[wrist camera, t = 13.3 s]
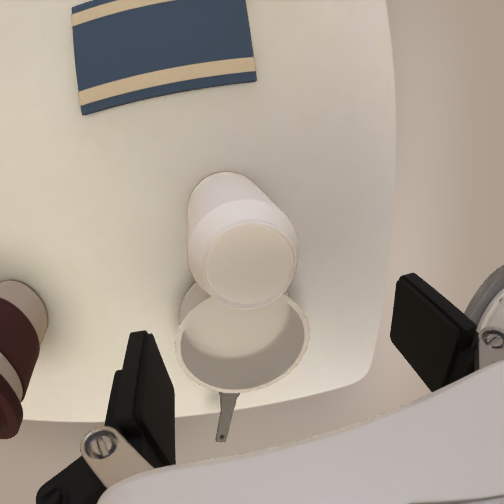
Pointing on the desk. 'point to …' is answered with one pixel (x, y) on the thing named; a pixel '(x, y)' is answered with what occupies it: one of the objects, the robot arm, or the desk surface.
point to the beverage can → (239, 242)
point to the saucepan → (238, 346)
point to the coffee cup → (18, 349)
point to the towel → (158, 48)
